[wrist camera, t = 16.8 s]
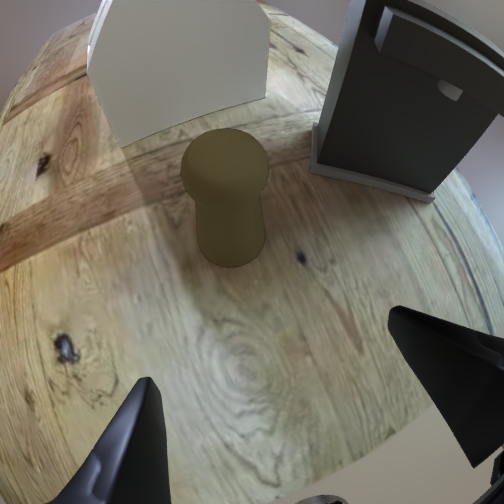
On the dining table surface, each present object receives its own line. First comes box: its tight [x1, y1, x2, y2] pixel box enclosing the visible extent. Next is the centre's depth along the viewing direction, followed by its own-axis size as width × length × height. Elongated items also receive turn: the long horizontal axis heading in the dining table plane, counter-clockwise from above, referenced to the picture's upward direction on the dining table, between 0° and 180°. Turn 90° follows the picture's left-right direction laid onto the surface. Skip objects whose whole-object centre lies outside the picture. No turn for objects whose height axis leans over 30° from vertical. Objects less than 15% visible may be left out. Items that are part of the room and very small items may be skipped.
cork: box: [180, 128, 269, 267], centre depth 19 cm, size 6×6×11 cm
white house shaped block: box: [87, 0, 271, 148], centre depth 21 cm, size 19×15×25 cm
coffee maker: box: [309, 0, 504, 203], centre depth 18 cm, size 10×15×20 cm, turn 80°
